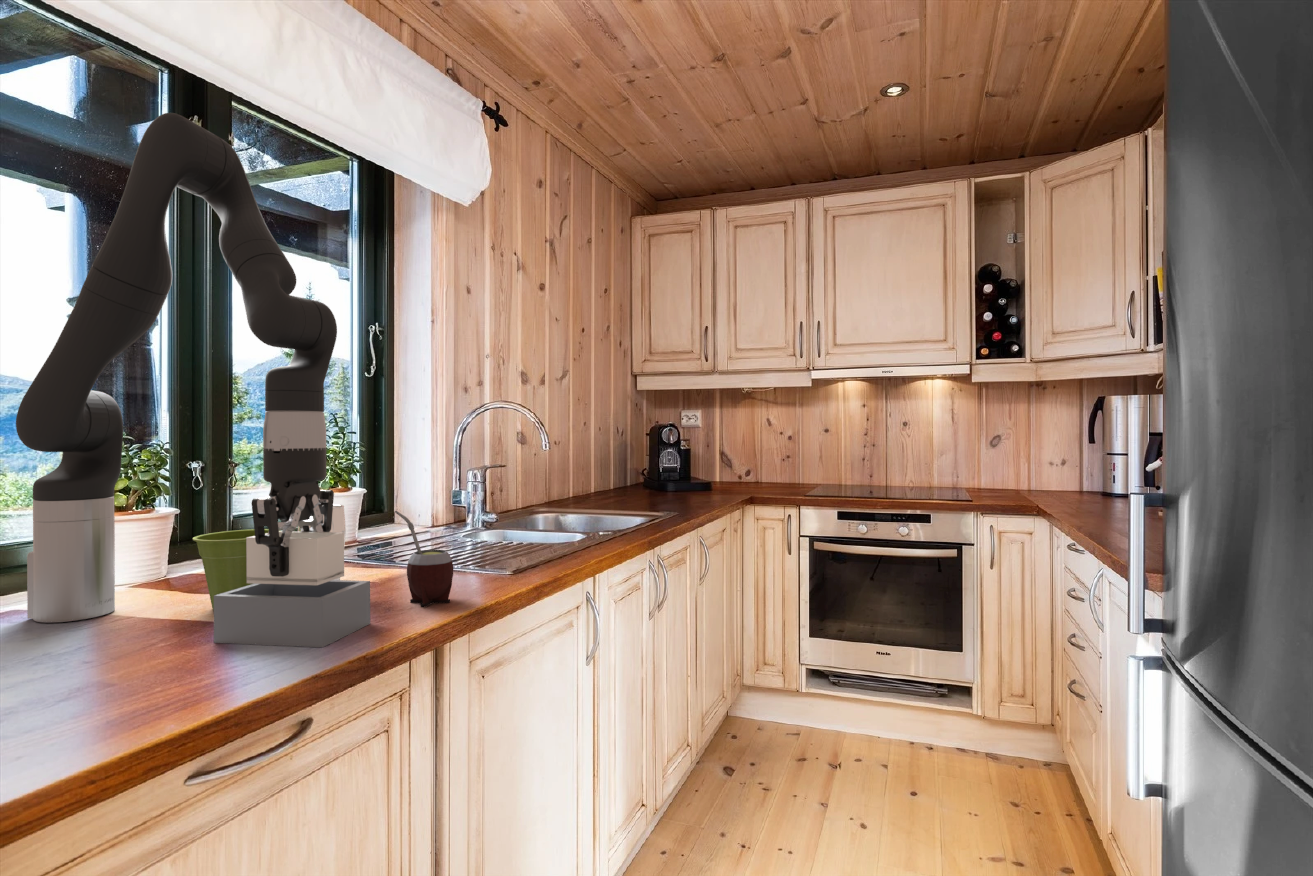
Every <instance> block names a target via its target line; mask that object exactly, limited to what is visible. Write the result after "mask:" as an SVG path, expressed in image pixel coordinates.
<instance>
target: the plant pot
mask: <svg viewBox="0 0 1313 876" xmlns="http://www.w3.org/2000/svg"><path fill="white" fill-rule="evenodd" d="M264 530H265V534H266V533H268V531H269V529H268V528H264ZM251 536H255V531H254V528H252V529H239V530H236V529H235V530H225V531H219V532H218V531H217V532H211V533H205V534H200V535H196V536H194V537H192V541H194V542H196V545H197V549H198V554H199V556H200V557H201V561H202V567H203V571H204V575H205V579H206V584H207V585H206V586H207V589H208V593H209V600H210V603H211V608H212V610H213V611H214V596H215V595H218V594H221V593H225V592H228V591H231V590H235V589H238V588H241V587H245V586H248V585H251V584H254V583H247V554H246V537H251Z"/></svg>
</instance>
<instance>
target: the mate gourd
mask: <svg viewBox="0 0 1313 876" xmlns="http://www.w3.org/2000/svg"><path fill="white" fill-rule="evenodd" d="M394 513H395V514H397V515H398V516H399V517H400V518H401V519H402V520H404V522H406V523H407V527H408V529H409V531H410V534H411V537H412V538H413V542H414V545H415V549H416V551H414V552H413V553H412V554H411V556H409V558H408V560H407V565H406V576H407V577H406V578H407V583H408V588H409V592H410V595H411V598H410V600H409V601H410V604H420V608H427V607H428V606H430V605H432V604H450V603H451V599H450V598H449V597H450V593H451V589H452V586H453V577H454V563H453V558H452V557H451V556H450V554H449V552H448V550H445V549H423V550H421V547H420V544H419V541H418V538H417V534H416V531H415V526H414V523H413V522H412V521H411V520H410V519H409V518H408V517H407V516H405V515H403V514H402V513H400V512H399V511H397V510H395V511H394Z"/></svg>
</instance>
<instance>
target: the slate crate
mask: <svg viewBox="0 0 1313 876" xmlns="http://www.w3.org/2000/svg"><path fill="white" fill-rule="evenodd" d="M369 625H371V580H352V579H351V580H348V579H347V580H345V579H343V580H341V579H340V580H331V581H328V582H326V583H323V584H320V585H287V584H251V585H248V586H245V587H241V588H238V589H235V590H231V591H228V592H225V593H221V594H218V595H215V596H214V610H213V643H214V644H216V643H217V644H236V645H237V644H239V645H259V646H260V645H261V646H284V647H286V646H287V647H303V648H305V647H306V648H310V647H311V648H324V647H327V646H329V645H330V644H332V643H335V642H336V641H338V640H340V639H342V638H345V637H346V636H348V635H351V634H352V633H354V632H357V631H358V630H360V629H362V628H365V627H367V626H369Z"/></svg>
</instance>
